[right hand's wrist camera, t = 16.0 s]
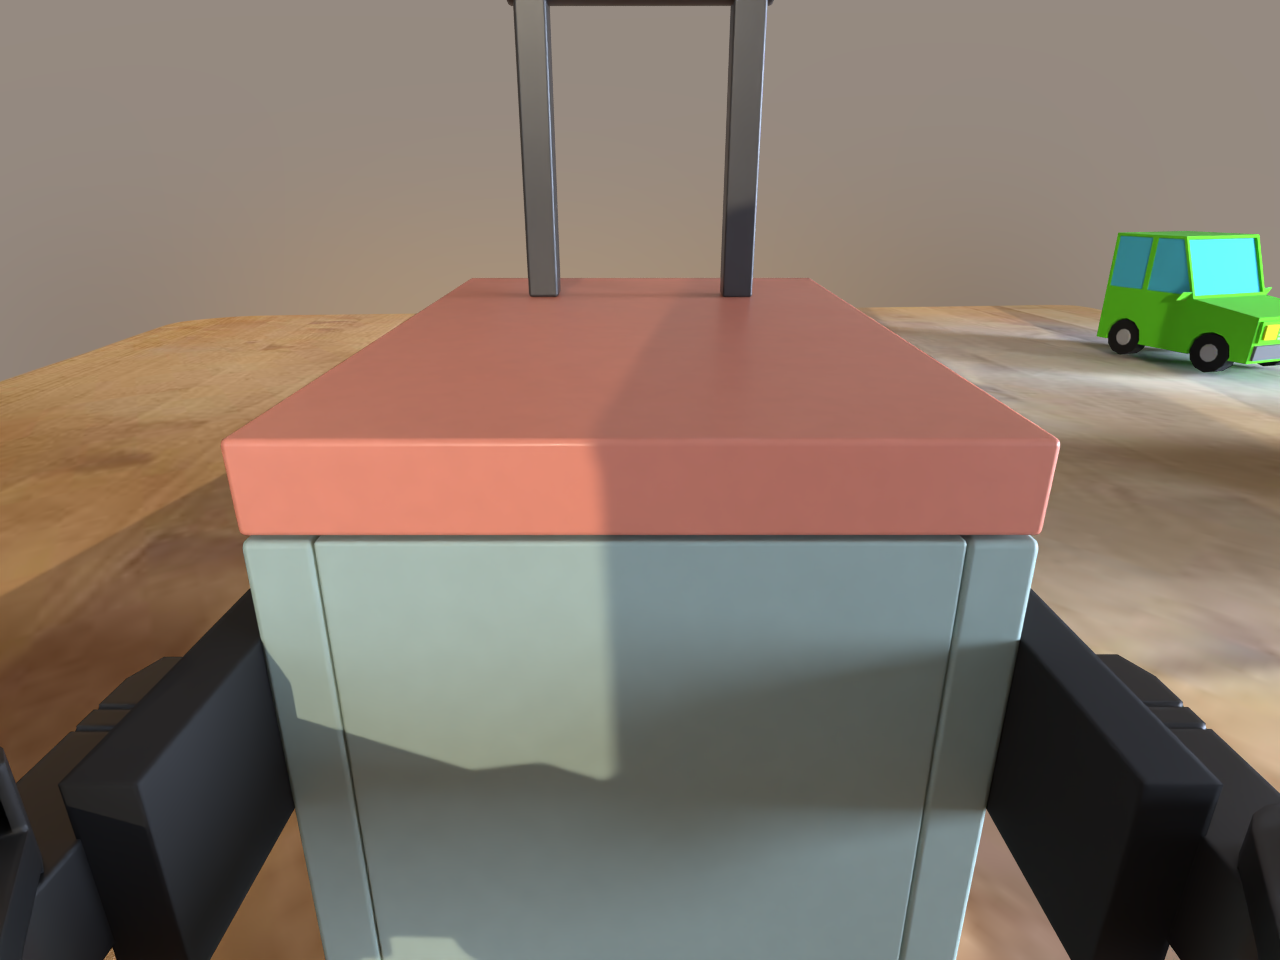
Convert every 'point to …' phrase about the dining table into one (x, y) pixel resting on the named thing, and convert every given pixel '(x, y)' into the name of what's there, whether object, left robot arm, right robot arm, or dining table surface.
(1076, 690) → the right robot arm
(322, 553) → the chest
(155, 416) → the dining table surface
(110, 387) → the dining table surface
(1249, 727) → the dining table surface
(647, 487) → the lid
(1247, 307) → the toy car
